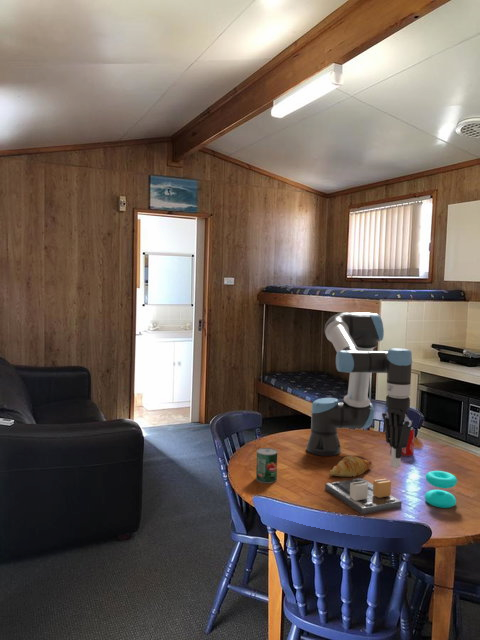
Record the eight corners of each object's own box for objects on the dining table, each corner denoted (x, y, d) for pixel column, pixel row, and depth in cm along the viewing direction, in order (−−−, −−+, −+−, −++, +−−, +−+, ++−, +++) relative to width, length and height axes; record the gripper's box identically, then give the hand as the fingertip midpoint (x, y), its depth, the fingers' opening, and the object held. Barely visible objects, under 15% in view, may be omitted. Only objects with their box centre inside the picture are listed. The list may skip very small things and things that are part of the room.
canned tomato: (275, 484, 190) (276, 455, 190) (254, 482, 192) (255, 453, 191) (277, 476, 198) (278, 448, 197) (257, 474, 200) (258, 447, 199)
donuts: (419, 473, 177) (437, 467, 183) (418, 501, 178) (435, 494, 183) (446, 482, 169) (463, 476, 175) (444, 511, 169) (461, 504, 175)
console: (325, 489, 186) (325, 482, 186) (361, 483, 193) (361, 476, 192) (361, 514, 166) (362, 506, 166) (401, 507, 172) (401, 499, 172)
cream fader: (349, 497, 174) (350, 482, 174) (361, 495, 176) (362, 480, 176) (355, 500, 171) (355, 485, 171) (367, 498, 173) (367, 483, 173)
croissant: (335, 488, 196) (342, 473, 193) (319, 469, 204) (326, 454, 200) (374, 477, 207) (382, 463, 204) (358, 459, 215) (365, 445, 211)
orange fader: (373, 494, 177) (373, 479, 177) (384, 492, 179) (385, 477, 178) (378, 497, 174) (379, 482, 174) (390, 495, 176) (390, 480, 176)
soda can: (412, 452, 230) (413, 426, 229) (414, 457, 223) (415, 430, 223) (397, 451, 231) (398, 425, 230) (399, 456, 225) (400, 429, 224)
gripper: (376, 392, 172) (373, 461, 174) (402, 400, 160) (399, 474, 162) (394, 391, 175) (391, 459, 177) (421, 399, 163) (418, 471, 165)
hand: (395, 466), depth 169 cm, fingers closed
